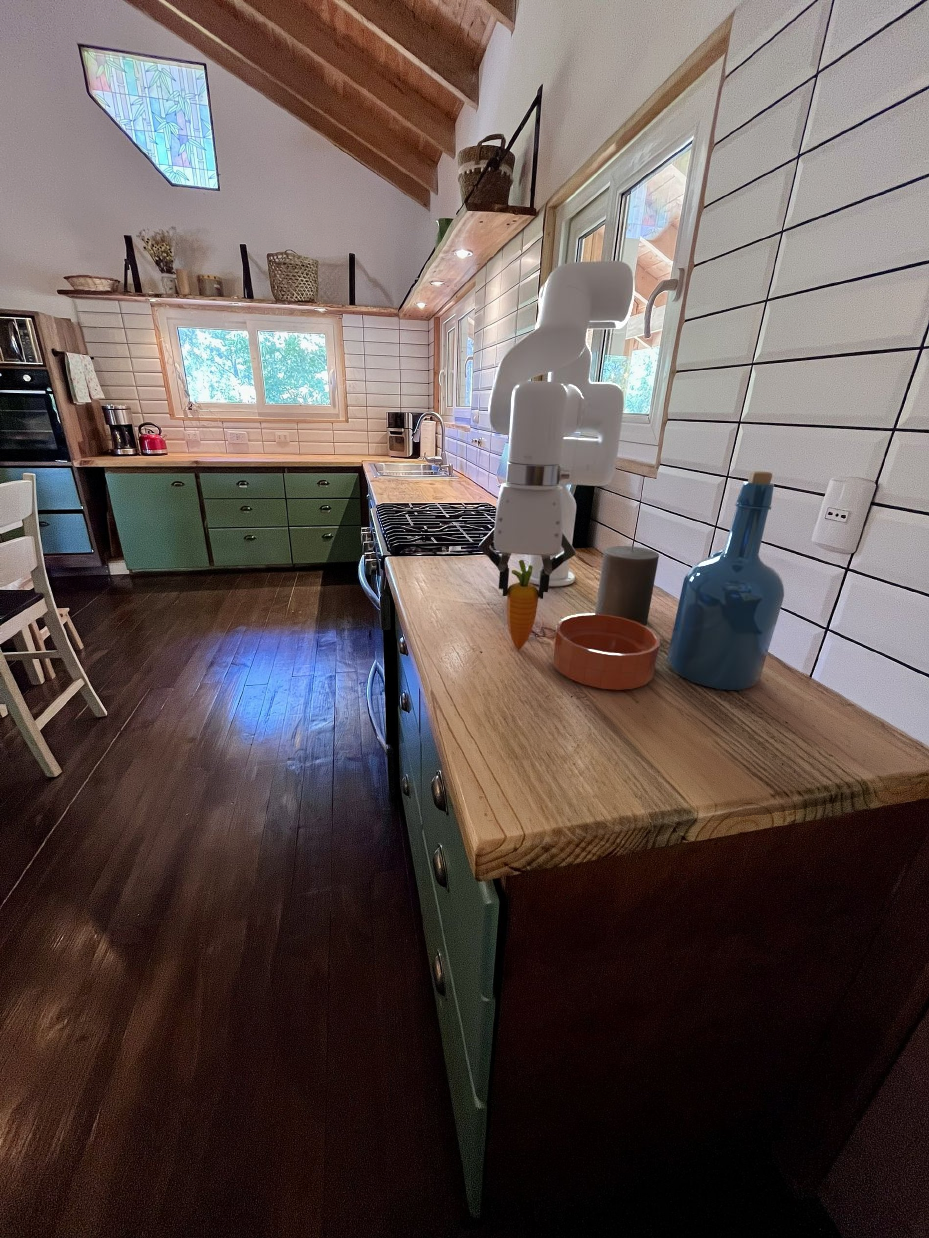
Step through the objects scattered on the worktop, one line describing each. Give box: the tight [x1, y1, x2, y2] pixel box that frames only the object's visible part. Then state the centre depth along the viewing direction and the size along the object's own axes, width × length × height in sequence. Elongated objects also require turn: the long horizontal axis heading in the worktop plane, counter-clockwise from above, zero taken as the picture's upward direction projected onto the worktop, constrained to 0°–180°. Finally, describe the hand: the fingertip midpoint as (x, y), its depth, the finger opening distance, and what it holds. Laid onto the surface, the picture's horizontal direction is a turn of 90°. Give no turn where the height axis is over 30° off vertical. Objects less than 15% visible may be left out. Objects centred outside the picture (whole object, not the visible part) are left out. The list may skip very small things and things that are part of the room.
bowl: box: [551, 613, 661, 691], centre depth 76 cm, size 15×15×6 cm
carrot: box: [506, 559, 539, 651], centre depth 79 cm, size 5×5×15 cm
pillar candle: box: [594, 544, 660, 627], centre depth 92 cm, size 10×10×15 cm
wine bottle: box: [667, 470, 785, 691], centre depth 72 cm, size 14×13×30 cm
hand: (522, 593), depth 78 cm, fingers closed on carrot, 5 cm apart
